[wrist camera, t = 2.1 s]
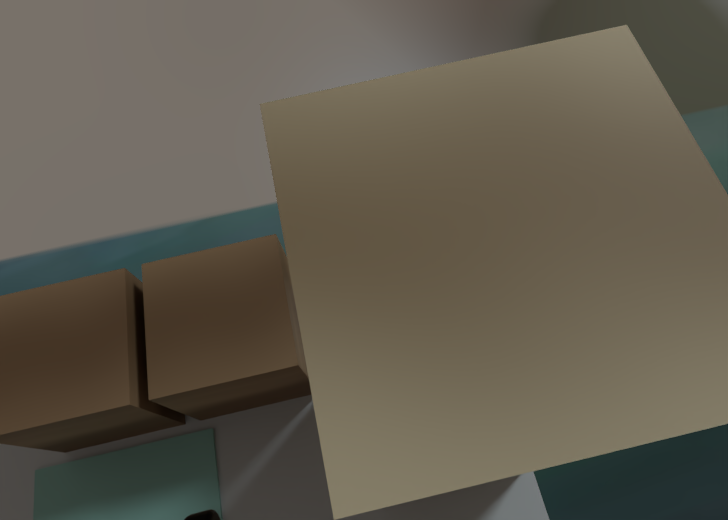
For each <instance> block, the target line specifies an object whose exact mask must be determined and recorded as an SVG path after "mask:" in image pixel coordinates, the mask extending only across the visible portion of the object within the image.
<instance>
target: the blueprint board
mask: <svg viewBox="0 0 728 520" xmlns="http://www.w3.org/2000/svg"><path fill="white" fill-rule="evenodd" d="M185 423H186V424H184V425H180V426H176V427H172V428H167V429H163V430H159V431H155V432H150V433H146V434H142V435H138V436H133V437H129V438H125V439H121V440H116V441H112V442H108V443H104V444H100V445H95V446H91V447H87V448H83V449H78V450H74V451H70V452H66V453H64V452H57V451H49V450H42V449H35V448H28V447H21V446H14V445H6V444H0V520H184V519H185V518H186V517H187V516H189V515H191V514H194V513H198V512H202V511H206V510H210V509H212V510H215V511H216V512H217V513H218V515H219V517H220V519H221V520H334V517H333V512H332V506H331V501H330V495H329V489H328V484H327V478H326V473H325V467H324V461H323V456H322V450H321V444H320V439H319V433H318V428H317V422H316V416H315V411H314V405H313V400H312V394H311V395H307V396H303V397H299V398H295V399H290V400H286V401H282V402H278V403H273V404H269V405H265V406H261V407H256V408H252V409H248V410H244V411H239V412H235V413H231V414H227V415H222V416H218V417H214V418H210V419H205V420H201V421H200V420H198V419H195V418H193V417H190V416H187V415H185ZM336 520H549V518H548V515H547V512H546V509H545V506H544V503H543V500H542V497H541V494H540V491H539V488H538V484H537V481H536V478H535V475H534V472H533V471H532V472H528V473H524V474H520V475H516V476H512V477H508V478H503V479H499V480H495V481H491V482H487V483H483V484H479V485H475V486H471V487H467V488H463V489H458V490H454V491H450V492H446V493H442V494H438V495H434V496H430V497H426V498H422V499H418V500H413V501H409V502H405V503H401V504H397V505H393V506H389V507H385V508H381V509H377V510H373V511H368V512H364V513H360V514H356V515H352V516H348V517H344V518H340V519H336Z"/></svg>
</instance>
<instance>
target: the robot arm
mask: <svg viewBox="0 0 728 520" xmlns="http://www.w3.org/2000/svg"><path fill="white" fill-rule="evenodd" d="M184 520H221V519H220V517H219V515H218V513H217V512H216V511H215V510H212V509H210V510H206V511H202V512H198V513H194V514H191V515H189V516H187V517H186V518H185V519H184Z"/></svg>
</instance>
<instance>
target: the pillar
mask: <svg viewBox="0 0 728 520" xmlns="http://www.w3.org/2000/svg"><path fill="white" fill-rule="evenodd" d="M260 107H261V112H262V119H263V124H264V129H265V136H266V141H267V147H268V152H269V158H270V164H271V169H272V175H273V180H274V186H275V192H276V197H277V203H278V209H279V214H280V220H281V225H282V231H283V237H284V242H285V248H286V253H287V259H288V265H289V270H290V276H291V282H292V287H293V293H294V298H295V304H296V310H297V315H298V321H299V327H300V332H301V338H302V343H303V349H304V355H305V360H306V366H307V371H308V377H309V383H310V388H311V394H312V400H313V405H314V411H315V416H316V422H317V428H318V433H319V439H320V444H321V450H322V456H323V461H324V467H325V473H326V478H327V484H328V489H329V495H330V501H331V506H332V512H333V517H334V520H336V519H340V518H344V517H348V516H352V515H356V514H360V513H364V512H368V511H373V510H377V509H381V508H385V507H389V506H393V505H397V504H401V503H405V502H409V501H413V500H418V499H422V498H426V497H430V496H434V495H438V494H442V493H446V492H450V491H454V490H458V489H463V488H467V487H471V486H475V485H479V484H483V483H487V482H491V481H495V480H499V479H503V478H508V477H512V476H516V475H520V474H524V473H528V472H532V471H536V470H540V469H544V468H548V467H553V466H557V465H561V464H565V463H569V462H573V461H577V460H581V459H585V458H589V457H593V456H597V455H602V454H606V453H610V452H614V451H618V450H622V449H626V448H630V447H634V446H638V445H642V444H647V443H651V442H655V441H659V440H663V439H667V438H671V437H675V436H679V435H683V434H687V433H692V432H696V431H700V430H704V429H708V428H712V427H716V426H720V425H724V424H728V195H727V193H726V191H725V190H724V188H723V186H722V185H721V183H720V181H719V179H718V178H717V176H716V174H715V173H714V171H713V169H712V168H711V166H710V164H709V163H708V161H707V159H706V158H705V156H704V154H703V152H702V151H701V149H700V147H699V146H698V144H697V142H696V141H695V139H694V137H693V136H692V134H691V132H690V131H689V129H688V127H687V125H686V124H685V122H684V120H683V119H682V117H681V115H680V114H679V112H678V110H677V109H676V107H675V105H674V104H673V102H672V101H671V99H670V97H669V95H668V94H667V92H666V90H665V89H664V87H663V85H662V83H661V82H660V80H659V78H658V77H657V75H656V73H655V72H654V70H653V68H652V67H651V65H650V63H649V62H648V60H647V58H646V56H645V55H644V53H643V51H642V50H641V48H640V46H639V45H638V43H637V41H636V40H635V38H634V36H633V35H632V33H631V31H630V30H629V28H628V26H627V25H624V26H619V27H615V28H610V29H606V30H600V31H596V32H591V33H587V34H583V35H577V36H573V37H569V38H563V39H559V40H554V41H549V42H545V43H540V44H536V45H531V46H527V47H522V48H518V49H512V50H508V51H503V52H499V53H494V54H489V55H485V56H480V57H475V58H471V59H466V60H462V61H457V62H452V63H448V64H443V65H438V66H434V67H429V68H424V69H420V70H415V71H411V72H406V73H401V74H397V75H392V76H388V77H383V78H379V79H374V80H369V81H364V82H360V83H355V84H350V85H346V86H341V87H337V88H332V89H327V90H323V91H318V92H314V93H309V94H304V95H299V96H295V97H290V98H286V99H281V100H276V101H272V102H267V103H263V104H260Z"/></svg>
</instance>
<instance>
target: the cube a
mask: <svg viewBox="0 0 728 520" xmlns="http://www.w3.org/2000/svg"><path fill="white" fill-rule="evenodd" d="M184 424H186V423H185V414H182V413H180V412H177V411H175V410H172V409H170V408H167V407H165V406H162V405H160V404H157V403H155V402H152V401H150V400H149V396H148V376H147V357H146V337H145V318H144V298H143V283H142V282H141V281H140V280H138V279H137V278H136V277H135V276H134V275H132V274H131V273H130V272H129V271H128V270H127V269H125V268H123V269H118V270H114V271H109V272H105V273H100V274H96V275H92V276H87V277H83V278H78V279H74V280H69V281H65V282H60V283H56V284H52V285H47V286H43V287H38V288H34V289H29V290H25V291H20V292H16V293H11V294H7V295H3V296H0V444H6V445H14V446H21V447H28V448H35V449H42V450H49V451H57V452H64V453H66V452H70V451H74V450H78V449H83V448H87V447H91V446H95V445H100V444H104V443H108V442H112V441H116V440H121V439H125V438H129V437H133V436H138V435H142V434H146V433H150V432H155V431H159V430H163V429H167V428H172V427H176V426H180V425H184Z"/></svg>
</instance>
